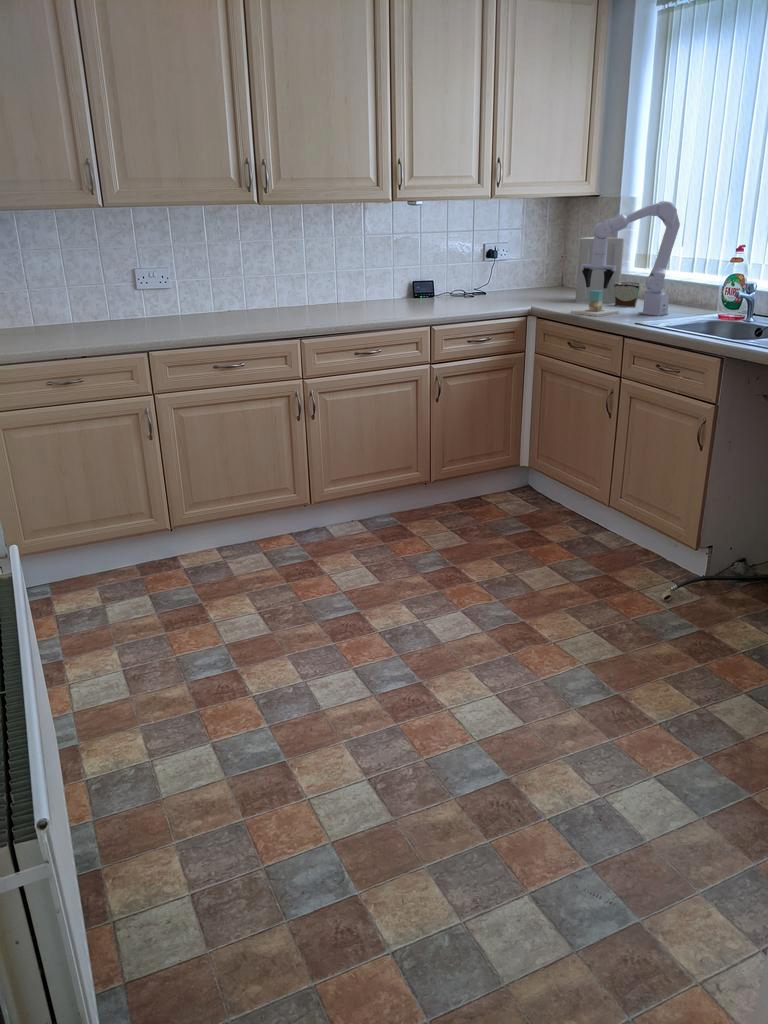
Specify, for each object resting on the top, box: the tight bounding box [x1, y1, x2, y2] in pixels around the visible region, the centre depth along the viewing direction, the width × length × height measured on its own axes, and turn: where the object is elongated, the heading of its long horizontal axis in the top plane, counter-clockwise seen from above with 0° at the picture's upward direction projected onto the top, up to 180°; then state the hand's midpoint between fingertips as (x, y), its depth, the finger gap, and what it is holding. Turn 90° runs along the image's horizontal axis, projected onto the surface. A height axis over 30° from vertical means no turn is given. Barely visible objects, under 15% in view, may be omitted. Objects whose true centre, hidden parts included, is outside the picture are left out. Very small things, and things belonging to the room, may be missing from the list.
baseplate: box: [570, 307, 620, 317], centre depth 352 cm, size 14×14×1 cm
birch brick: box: [588, 301, 603, 311], centre depth 351 cm, size 4×4×4 cm
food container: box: [614, 281, 642, 308], centre depth 371 cm, size 12×6×10 cm, turn 51°
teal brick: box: [589, 290, 603, 301], centre depth 349 cm, size 4×4×4 cm
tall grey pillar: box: [574, 236, 625, 304], centre depth 383 cm, size 19×15×28 cm
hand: (596, 287), depth 348 cm, fingers open, 7 cm apart
